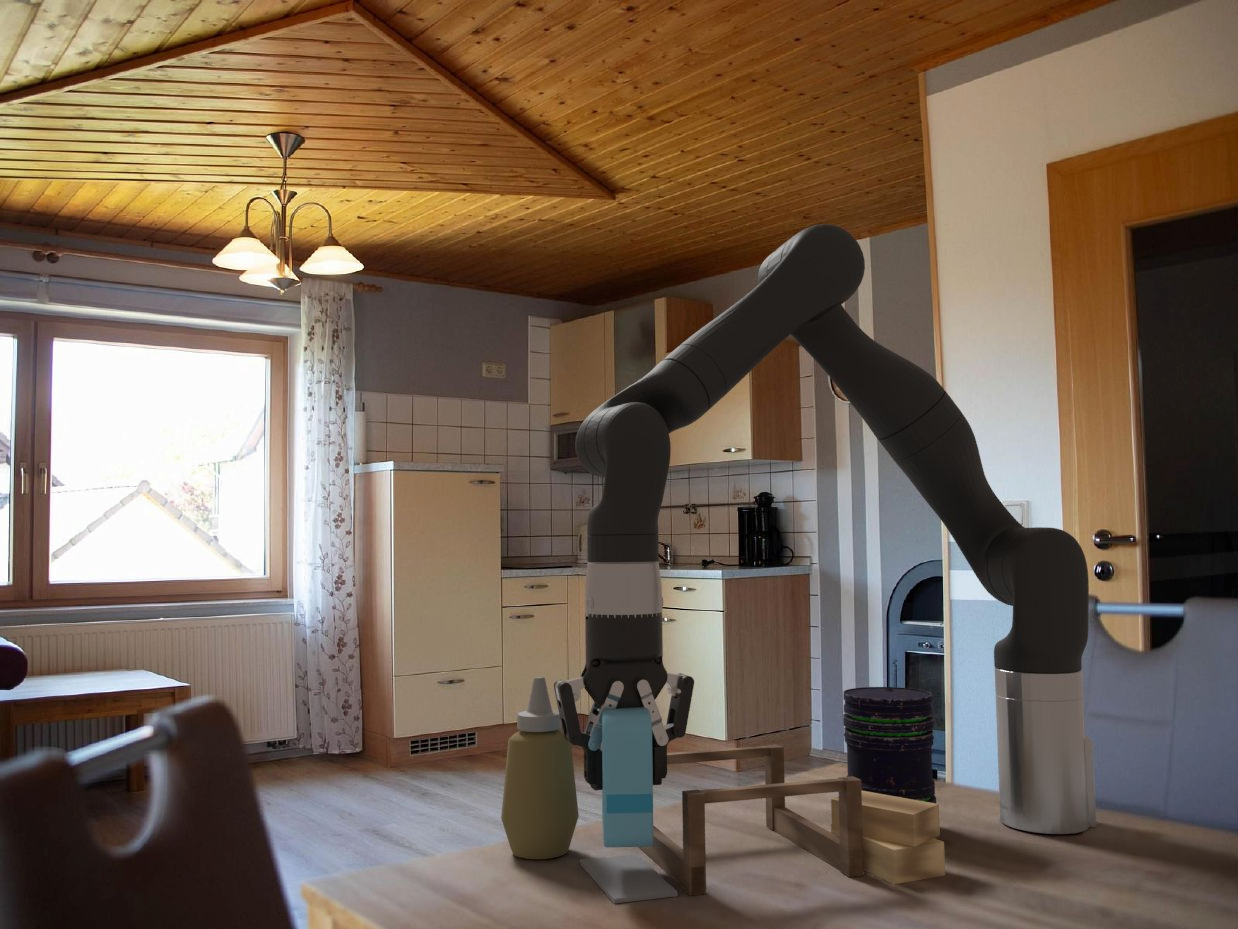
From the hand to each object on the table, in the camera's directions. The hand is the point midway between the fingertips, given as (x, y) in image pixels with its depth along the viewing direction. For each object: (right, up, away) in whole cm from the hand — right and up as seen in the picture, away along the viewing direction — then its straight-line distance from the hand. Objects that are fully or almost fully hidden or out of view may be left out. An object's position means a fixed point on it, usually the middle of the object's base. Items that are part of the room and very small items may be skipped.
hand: (625, 785), depth 100 cm
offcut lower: (+26, -9, +3) cm, 28 cm away
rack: (+12, -9, +6) cm, 16 cm away
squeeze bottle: (-9, -10, +8) cm, 15 cm away
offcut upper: (+26, -6, +3) cm, 27 cm away
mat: (0, -9, -1) cm, 9 cm away
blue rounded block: (0, -5, 0) cm, 5 cm away
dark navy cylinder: (+30, -10, +15) cm, 35 cm away
